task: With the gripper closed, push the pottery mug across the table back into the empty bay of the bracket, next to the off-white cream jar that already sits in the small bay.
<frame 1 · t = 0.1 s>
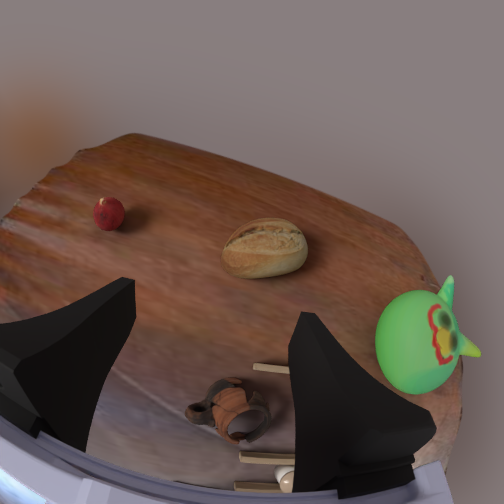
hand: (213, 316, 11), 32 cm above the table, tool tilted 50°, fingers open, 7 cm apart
bread roll: (262, 257, 48), on the table
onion: (115, 224, 47), on the table
toy bird: (397, 346, 44), on the table
cream jar: (285, 471, 33), resting in bracket
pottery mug: (226, 408, 37), on the table
bracket: (287, 432, 36), on the table
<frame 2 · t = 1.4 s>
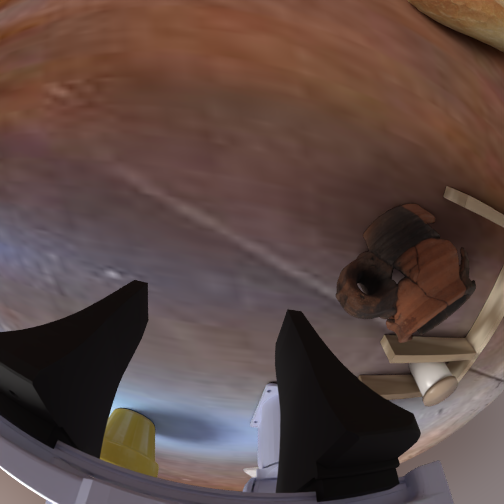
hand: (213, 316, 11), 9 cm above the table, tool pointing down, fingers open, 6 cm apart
plant pot: (134, 419, 32), on the table
bread roll: (455, 10, 11), on the table
cream jar: (423, 359, 26), resting in bracket
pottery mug: (390, 260, 21), on the table
bracket: (449, 307, 23), on the table
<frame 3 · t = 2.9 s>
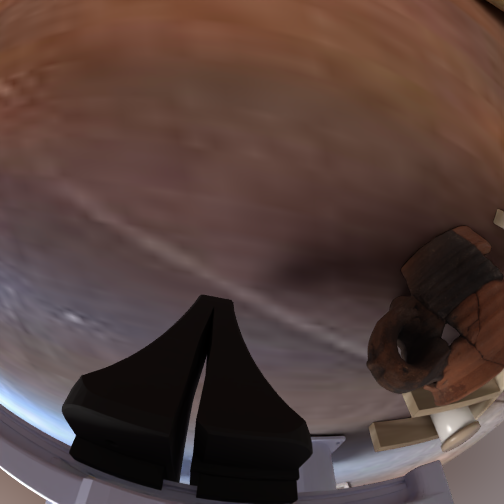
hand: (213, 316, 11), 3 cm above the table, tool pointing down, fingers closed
cream jar: (443, 399, 20), resting in bracket
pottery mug: (428, 297, 15), on the table
bracket: (480, 346, 17), on the table
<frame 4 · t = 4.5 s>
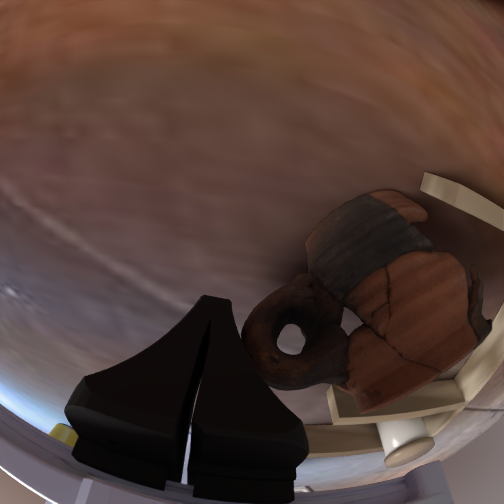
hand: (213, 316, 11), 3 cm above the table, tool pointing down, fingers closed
plant pot: (77, 435, 26), on the table
cream jar: (393, 407, 19), resting in bracket
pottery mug: (356, 280, 14), on the table, touching gripper
bracket: (431, 348, 16), on the table
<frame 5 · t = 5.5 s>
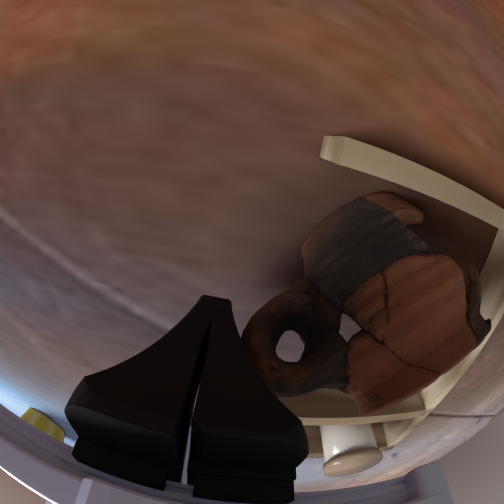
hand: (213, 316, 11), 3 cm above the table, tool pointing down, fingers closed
plant pot: (47, 421, 25), on the table
cream jar: (341, 410, 19), resting in bracket
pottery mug: (353, 283, 14), on the table, touching gripper
bracket: (373, 346, 16), on the table
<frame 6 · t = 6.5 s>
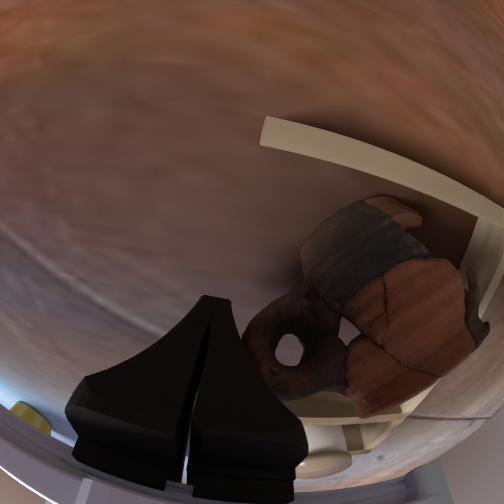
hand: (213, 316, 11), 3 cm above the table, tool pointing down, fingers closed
plant pot: (35, 414, 25), on the table
cream jar: (312, 409, 19), resting in bracket
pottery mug: (352, 286, 14), on the table, touching gripper
bracket: (337, 343, 16), on the table
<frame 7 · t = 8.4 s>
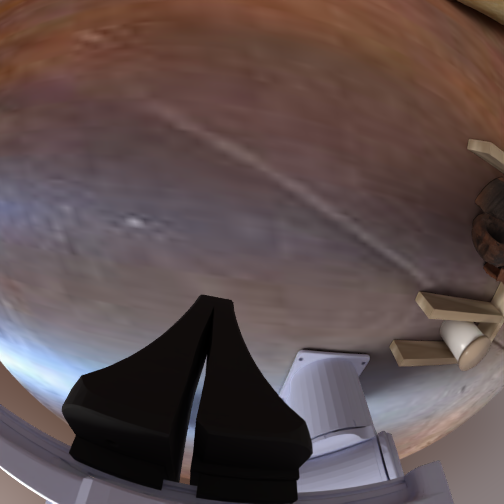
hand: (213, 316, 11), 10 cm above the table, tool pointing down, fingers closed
cream jar: (452, 324, 24), resting in bracket
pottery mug: (487, 223, 20), on the table
bracket: (477, 265, 21), on the table
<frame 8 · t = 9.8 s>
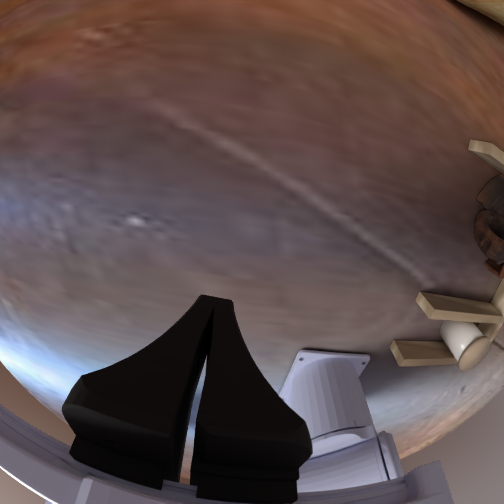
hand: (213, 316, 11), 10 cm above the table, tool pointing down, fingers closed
cream jar: (452, 324, 24), resting in bracket
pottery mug: (489, 220, 19), on the table
bracket: (477, 265, 21), on the table
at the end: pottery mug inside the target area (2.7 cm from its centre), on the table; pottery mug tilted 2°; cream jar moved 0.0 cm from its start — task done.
